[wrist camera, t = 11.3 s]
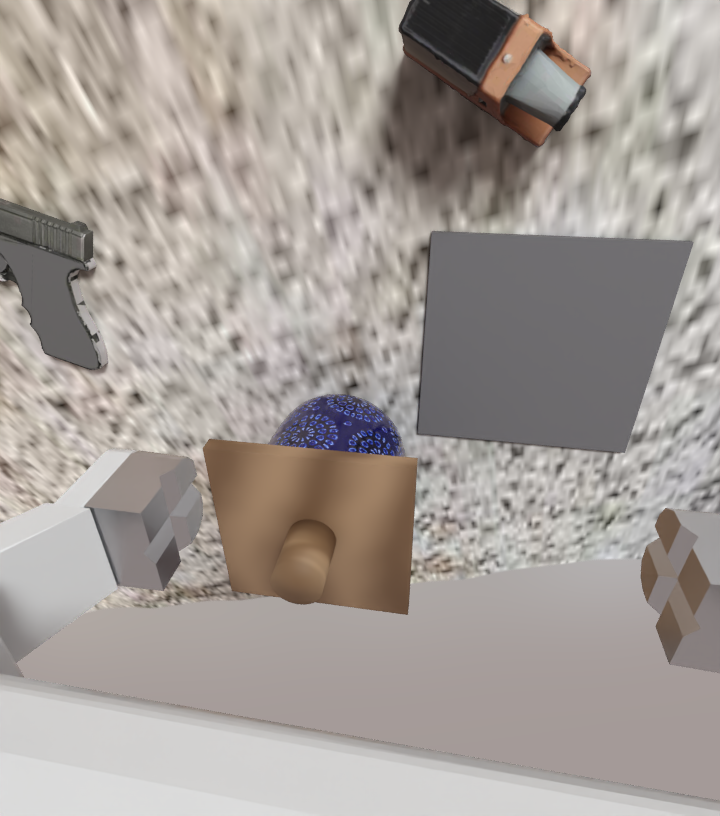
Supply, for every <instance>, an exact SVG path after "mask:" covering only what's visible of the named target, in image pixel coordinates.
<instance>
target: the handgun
mask: <svg viewBox="0 0 720 816" xmlns="http://www.w3.org/2000/svg"><path fill="white" fill-rule="evenodd" d="M92 257H93V231H90V230H88V228H87V226H86V224H85V223H82V222H79V221H76V222H74V223H68V222H65V221H62V220H59V219H57V218H54V217H51V216H48V215H45V214H42V213H40V212H37V211H34V210H31V209H28V208H26V207H23V206H20V205H17V204H14V203H11V202H9V201H6V200H3V199H0V281H8V280H11V281H14V282H15V283H17V284H18V287H19V291H20V293H21V296H22V306H23V307H24V308H25V309H26V310H27V311H28V312H29V314H30V317H31V323H30V325H31V327H32V328H33V329H34V330H35V331H36V333H37V334H38V336H39V338H40V341H41V346H42V349H43V351H44V353H45V354H47V355H50V356H53V357H55V358H58V359H61V360H64V361H67V362H70V363H73V364H76V365H78V366H81V367H84V368H87V369H90V370H96V369H100V368H101V367H103V366H104V365H105V364H107V363H108V355H107V350H106V346H105V344H104V341H103V339H102V336H101V334H100V332H99V330H98V328H97V326H96V324H95V322H94V321H93V319H92V317H91V316H90V314H89V312H88V310H87V307H86V305H85V303H84V300H83V296H82V293H81V289H80V285H79V282H78V272H79V270H86V271H89V270H91V269H93V268H95V267H96V262H95V260H94V259H93V258H92ZM8 268H9V271H8V272H7V271H5V270H7V269H8Z"/></svg>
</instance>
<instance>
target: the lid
mask: <svg viewBox="0 0 720 816" xmlns="http://www.w3.org/2000/svg"><path fill="white" fill-rule="evenodd" d="M203 452H204V457H205V462H206V466H207V471H208V476H209V481H210V486H211V491H212V496H213V501H214V505H215V510H216V515H217V520H218V525H219V530H220V535H221V540H222V544H223V549H224V554H225V559H226V564H227V569H228V574H229V579H230V583H231V588H232V591H236V592H244V593H251V594H259V595H266V596H273V597H281V598H283V599H285V600H287V601H289V602H292V603H295V604H311V603H314V602H317V603H325V604H333V605H339V606H348V607H354V608H362V609H369V610H376V611H384V612H391V613H398V614H406V615H407V614H408V607H409V594H410V577H411V560H412V543H413V526H414V509H415V492H416V475H417V459H418V458H410V457H399V456H388V455H377V454H367V453H356V452H345V451H334V450H323V449H312V448H302V447H291V446H280V445H269V444H258V443H247V442H237V441H226V440H215V439H209V440H208V442H207V443H206V444H205V446H204V447H203Z"/></svg>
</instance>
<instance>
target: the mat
mask: <svg viewBox="0 0 720 816" xmlns="http://www.w3.org/2000/svg"><path fill="white" fill-rule="evenodd" d="M692 246H693V242H692V241H674V240H648V239H622V238H596V237H570V236H544V235H518V234H493V233H467V232H441V231H432V234H431V249H430V263H429V278H428V292H427V307H426V321H425V336H424V350H423V365H422V379H421V394H420V408H419V423H418V434H429V435H440V436H451V437H461V438H472V439H483V440H494V441H504V442H515V443H526V444H537V445H548V446H558V447H569V448H580V449H591V450H601V451H612V452H623V453H625V451H626V447H627V444H628V441H629V438H630V435H631V432H632V429H633V426H634V423H635V420H636V417H637V414H638V411H639V408H640V405H641V402H642V399H643V395H644V392H645V389H646V386H647V383H648V380H649V377H650V374H651V371H652V368H653V365H654V362H655V359H656V356H657V353H658V350H659V347H660V343H661V340H662V337H663V334H664V331H665V328H666V325H667V322H668V319H669V316H670V313H671V310H672V307H673V304H674V301H675V298H676V295H677V291H678V288H679V285H680V282H681V279H682V276H683V273H684V270H685V267H686V264H687V261H688V258H689V255H690V252H691V249H692Z"/></svg>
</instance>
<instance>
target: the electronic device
mask: <svg viewBox="0 0 720 816" xmlns="http://www.w3.org/2000/svg"><path fill="white" fill-rule="evenodd" d="M399 32H400V33H401V34H402V38H403V43H404V46H403V51H404V53H405V54H406V55H407V56H408V57H410V58H411V59H413V60H414V61H416V62H417V63H418V64H420V65H421V66H423V67H424V68H425V69H427V70H428V71H429V72H431V73H433V74H434V75H436V76H437V77H438V78H440V79H441V80H442V81H444V83H446V84H448V85H449V86H450V87H451V88H452V89H455V90H457V91H458V92H459V93H460V94H461V95H462V96H463V97H465V98H466V99H468V100H469V101H471V102H472V103H474V104H475V105H477V106H478V107H479V108H480V109H481V110H483V111H485V112H487V113H489V114H490V115H492V116H493V117H494V118H496V119H497V120H499V122H500V123H501V124H503V125H504V126H508V127H509V128H511V129H512V130H514V131H515V132H517V133H518V134H519V135H521V136H522V137H523V139H525V140H527V141H529V142H530V143H532V144H533V145H535V146H536V147H540V146H542V145H543V144H544V142H545V139H546V138H547V136H548V135H549V133H550V132H551V130H552V129H553V128H554V129H555V130H556V131H560V130H561V129H562V128H563V126H564V125H565V124H566V123H567V121H568V120H569V118H570V115H571V114H572V113H573V112H574V110H575V109H576V108H577V107H578V104H579V102H580V100H581V99H582V98H583V97H584V95H585V93H586V89H585V88H584V86H583V84H584V83H585V82H586V80H587V79H588V78H589V77H590V76H591V70H590V68H588V67H586V66H585V65H583V64H581V63H580V62H579V61H577V60H576V59H575V58H573V57H572V55H570V54H568V53H567V52H566V51H565V50H564V49H561V48H560V47H559V46H558V45H557V44H556V43H555V42H554V41H553V39H552V38H553V36H552V32H550V31H549V30H548V29H546V28H544V27H542V26H540V25H539V24H537V23H536V22H534V21H533V20H532V19H530V18H529V16H528V14H525V15H521V14H518V13H517V12H515V11H513V10H512V9H510V8H509V7H507V6H506V5H504V4H502V3H501V2H499V1H498V0H411V1H410V2H409V5H408V7H407V10H406V12H405V15H404V17H403V19H402V21H401V23H400V25H399Z"/></svg>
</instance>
